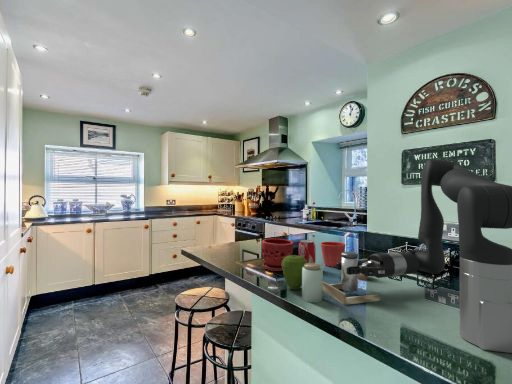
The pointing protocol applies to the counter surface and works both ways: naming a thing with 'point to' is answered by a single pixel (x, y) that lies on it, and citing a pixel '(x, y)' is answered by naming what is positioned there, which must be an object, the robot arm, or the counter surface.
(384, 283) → the counter surface
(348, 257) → the steel canister
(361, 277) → the terracotta tin
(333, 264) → the flower pot
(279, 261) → the plant pot
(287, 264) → the green bell pepper
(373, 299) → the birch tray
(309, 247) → the soda can
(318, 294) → the sage jar
